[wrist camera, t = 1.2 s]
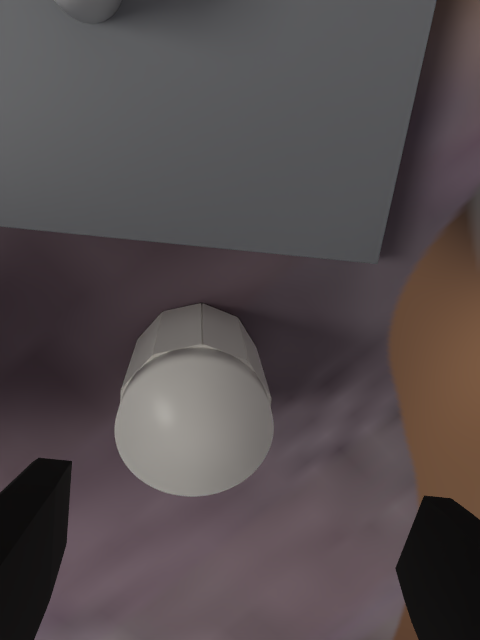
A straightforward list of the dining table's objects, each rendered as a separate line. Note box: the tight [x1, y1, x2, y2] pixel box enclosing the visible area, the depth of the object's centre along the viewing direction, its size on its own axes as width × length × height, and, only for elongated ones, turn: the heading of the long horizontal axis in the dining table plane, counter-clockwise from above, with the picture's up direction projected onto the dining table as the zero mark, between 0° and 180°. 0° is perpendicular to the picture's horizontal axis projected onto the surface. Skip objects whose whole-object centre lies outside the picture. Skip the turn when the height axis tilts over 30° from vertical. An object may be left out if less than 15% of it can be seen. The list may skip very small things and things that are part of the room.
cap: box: [114, 303, 274, 497], centre depth 16 cm, size 5×5×5 cm
